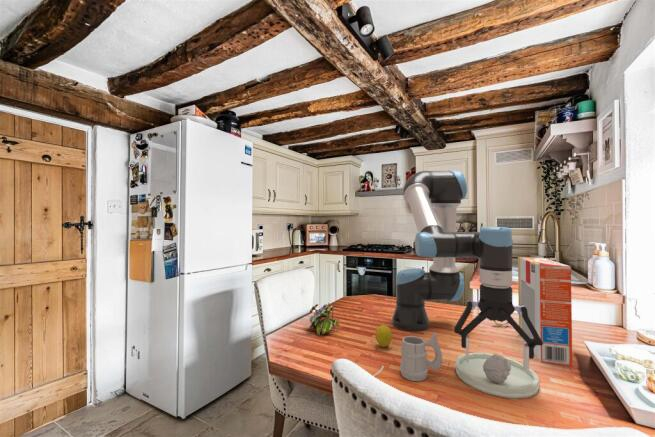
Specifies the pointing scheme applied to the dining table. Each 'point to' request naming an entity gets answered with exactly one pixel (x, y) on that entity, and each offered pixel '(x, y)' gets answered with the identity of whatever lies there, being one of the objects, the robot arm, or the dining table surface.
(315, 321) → the leafy green plant
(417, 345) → the mug
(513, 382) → the groove dish
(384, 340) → the lemon
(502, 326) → the ring
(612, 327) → the dining table surface
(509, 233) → the robot arm
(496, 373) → the grey round lump
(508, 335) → the dining table surface
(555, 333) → the cereal box
